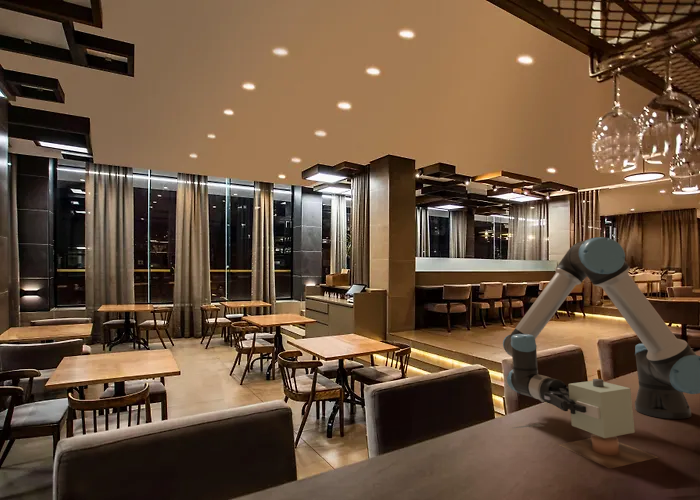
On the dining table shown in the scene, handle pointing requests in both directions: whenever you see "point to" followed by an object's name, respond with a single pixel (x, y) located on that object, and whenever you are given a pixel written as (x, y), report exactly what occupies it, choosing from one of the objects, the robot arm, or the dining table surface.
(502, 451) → the dining table surface
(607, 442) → the glossy tan dome
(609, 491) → the dining table surface
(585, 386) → the knobbed cream cube
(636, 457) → the board
